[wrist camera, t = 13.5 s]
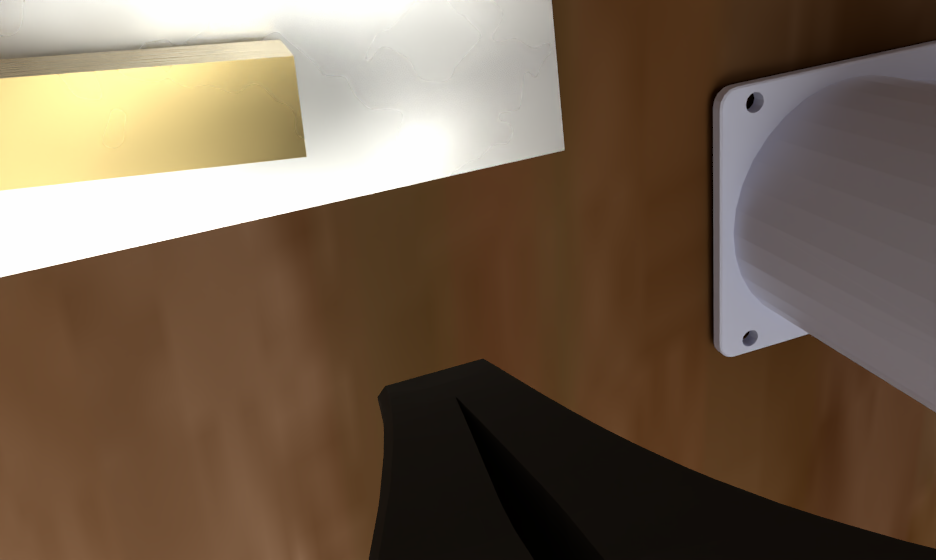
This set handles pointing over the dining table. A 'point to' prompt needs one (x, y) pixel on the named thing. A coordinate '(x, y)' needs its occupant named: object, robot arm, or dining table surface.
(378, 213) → the dining table surface
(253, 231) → the dining table surface
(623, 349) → the dining table surface
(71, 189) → the levelling plate
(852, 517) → the dining table surface
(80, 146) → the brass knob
